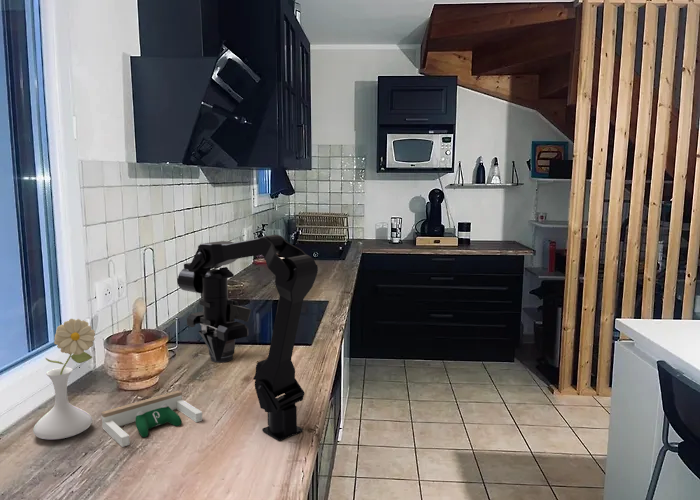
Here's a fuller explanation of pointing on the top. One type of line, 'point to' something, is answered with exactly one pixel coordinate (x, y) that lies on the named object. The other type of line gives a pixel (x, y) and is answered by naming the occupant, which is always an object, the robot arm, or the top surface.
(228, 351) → the dark grey cylinder
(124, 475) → the top surface
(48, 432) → the flower in vase
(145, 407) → the frame
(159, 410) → the gaming controller
